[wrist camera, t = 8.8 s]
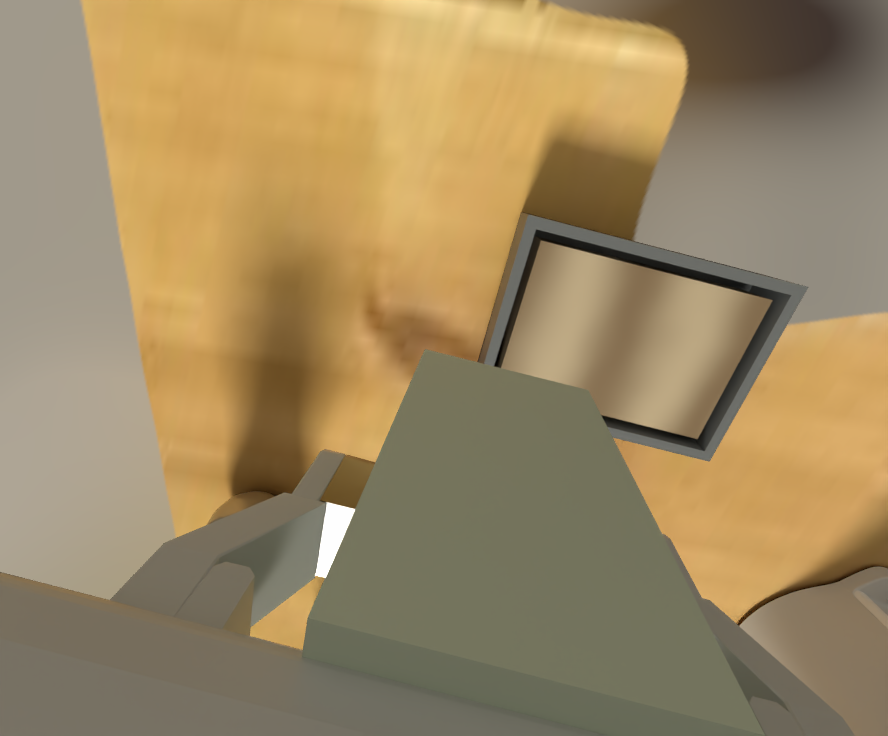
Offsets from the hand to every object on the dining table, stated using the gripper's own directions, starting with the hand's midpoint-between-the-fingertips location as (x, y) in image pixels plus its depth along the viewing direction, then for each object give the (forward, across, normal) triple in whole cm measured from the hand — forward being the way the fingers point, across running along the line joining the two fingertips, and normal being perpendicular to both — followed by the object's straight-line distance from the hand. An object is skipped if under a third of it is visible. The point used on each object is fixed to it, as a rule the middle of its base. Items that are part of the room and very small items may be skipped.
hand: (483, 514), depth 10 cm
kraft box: (+20, -8, 0) cm, 21 cm away
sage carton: (+3, 0, 0) cm, 3 cm away
